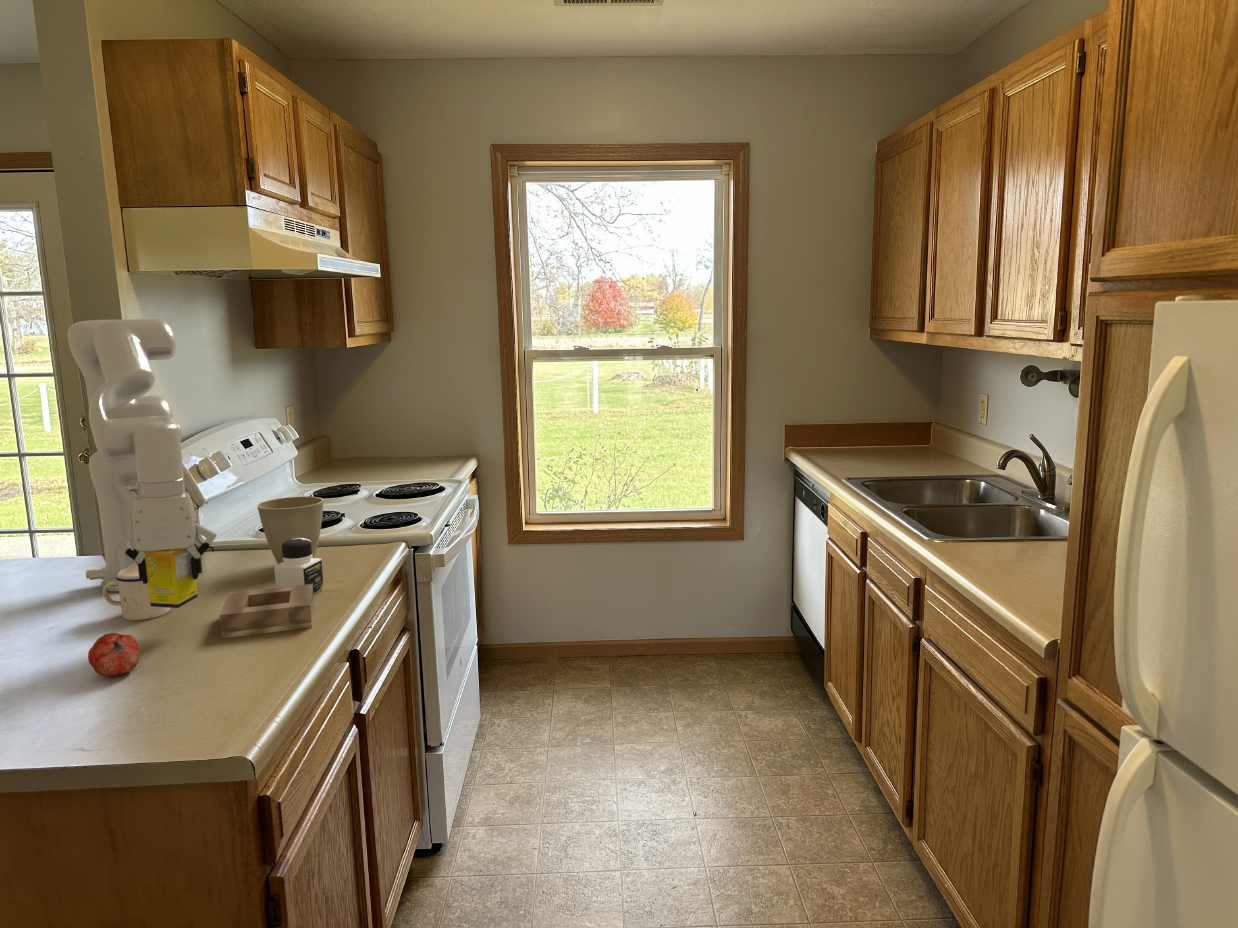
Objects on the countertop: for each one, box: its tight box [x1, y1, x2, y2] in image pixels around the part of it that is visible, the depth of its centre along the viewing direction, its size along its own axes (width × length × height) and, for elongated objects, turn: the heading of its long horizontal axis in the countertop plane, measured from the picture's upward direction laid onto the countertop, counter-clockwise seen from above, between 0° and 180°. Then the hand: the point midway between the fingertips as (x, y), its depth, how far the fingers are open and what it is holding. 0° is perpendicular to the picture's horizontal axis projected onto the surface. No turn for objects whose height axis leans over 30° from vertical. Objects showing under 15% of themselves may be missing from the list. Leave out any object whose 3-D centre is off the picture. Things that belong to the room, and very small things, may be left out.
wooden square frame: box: [219, 584, 315, 639], centre depth 165 cm, size 16×14×4 cm
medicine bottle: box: [274, 538, 325, 596], centre depth 181 cm, size 7×7×12 cm
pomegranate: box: [87, 632, 140, 678], centre depth 141 cm, size 7×7×10 cm
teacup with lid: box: [102, 562, 171, 621], centre depth 170 cm, size 12×9×12 cm
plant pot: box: [256, 495, 324, 565], centre depth 201 cm, size 15×15×16 cm
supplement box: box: [144, 549, 199, 609], centre depth 157 cm, size 6×6×11 cm
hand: (171, 578), depth 157 cm, fingers closed on supplement box, 7 cm apart
